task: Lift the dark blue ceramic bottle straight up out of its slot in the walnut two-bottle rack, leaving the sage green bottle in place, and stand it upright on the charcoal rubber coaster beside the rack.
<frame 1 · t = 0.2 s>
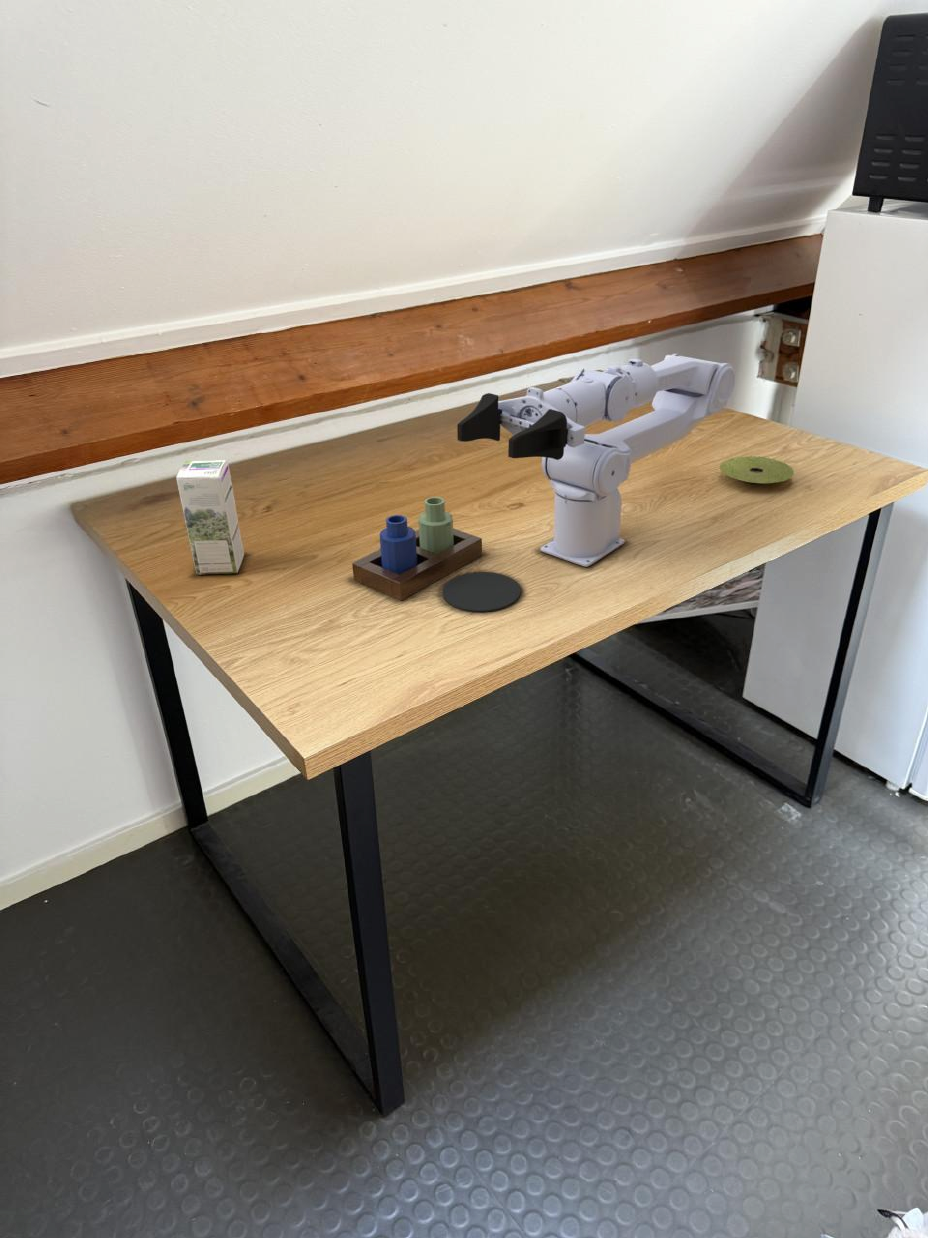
hand: (484, 440, 102), 22 cm above the table, tool horizontal, fingers open, 7 cm apart
bottle rack: (419, 567, 123), on the table
coaster: (481, 592, 116), on the table
mat: (754, 481, 145), on the table
syrup box: (221, 566, 125), on the table
blue bottle: (400, 577, 120), resting in bottle rack
sage bottle: (437, 557, 125), resting in bottle rack
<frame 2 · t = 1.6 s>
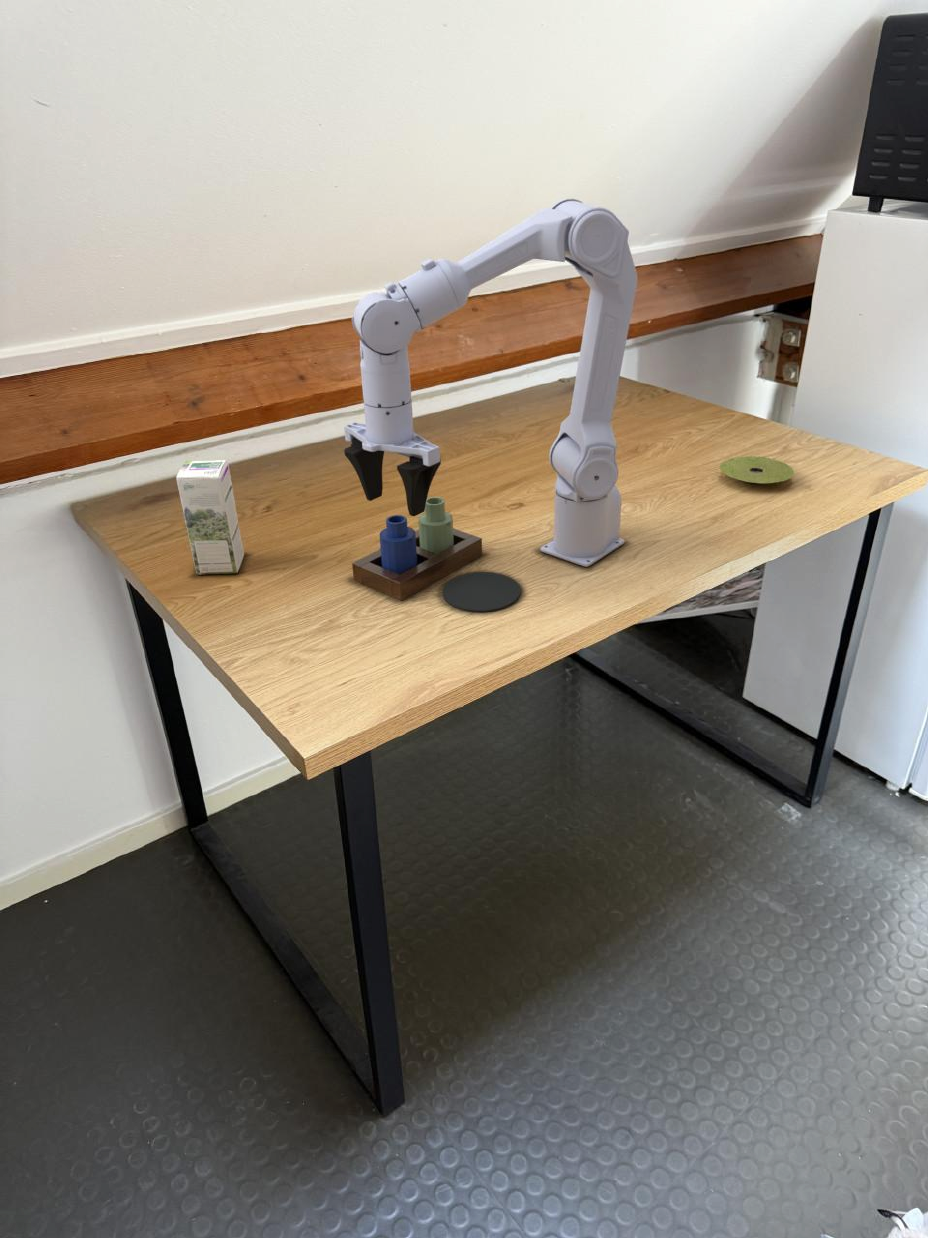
hand: (395, 505, 115), 10 cm above the table, tool pointing down, fingers open, 7 cm apart
nothing on the table moved.
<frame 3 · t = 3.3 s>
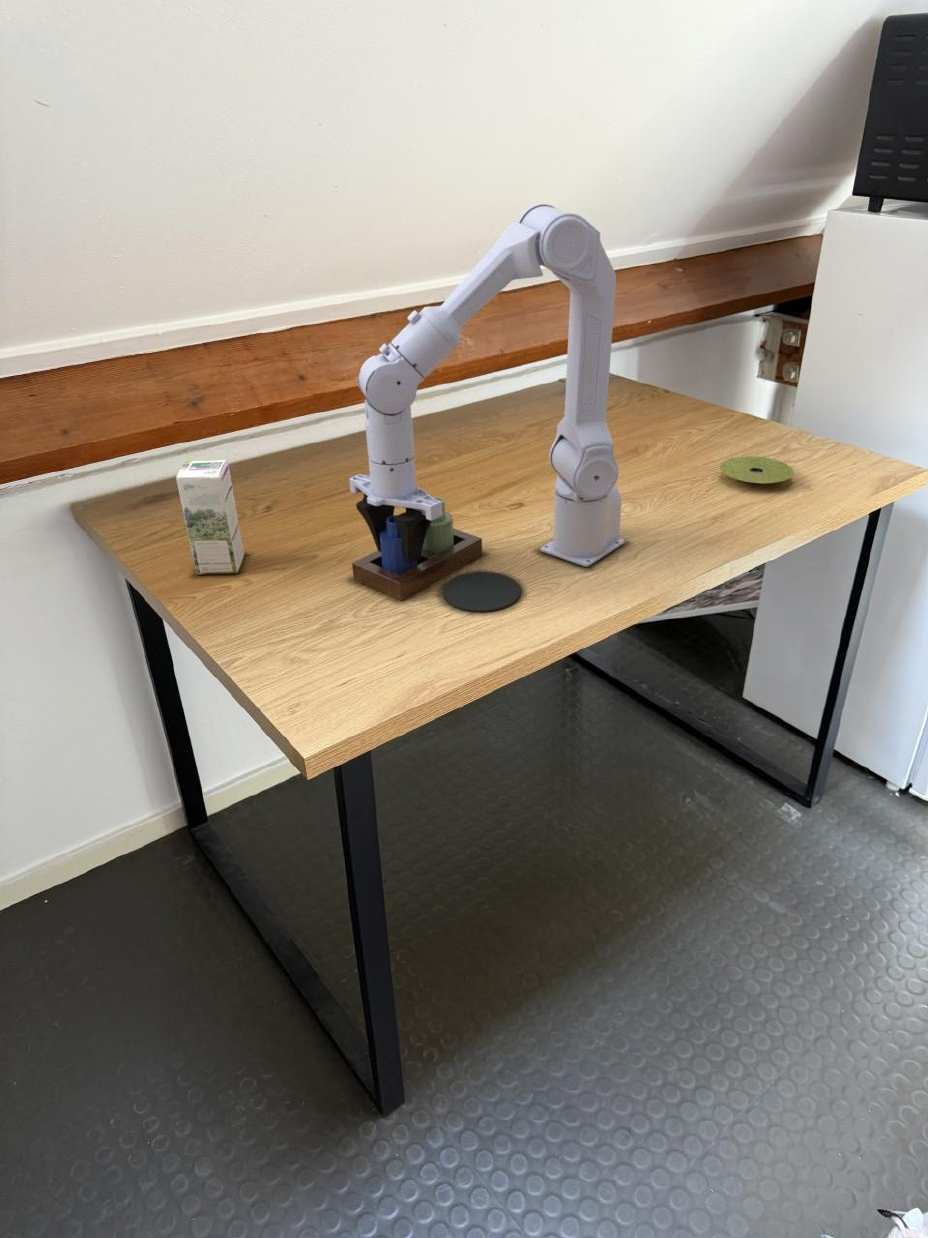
hand: (399, 554, 119), 3 cm above the table, tool pointing down, fingers closed on blue bottle, 4 cm apart
blue bottle: (400, 577, 120), resting in bottle rack, touching gripper
everything else where it was.
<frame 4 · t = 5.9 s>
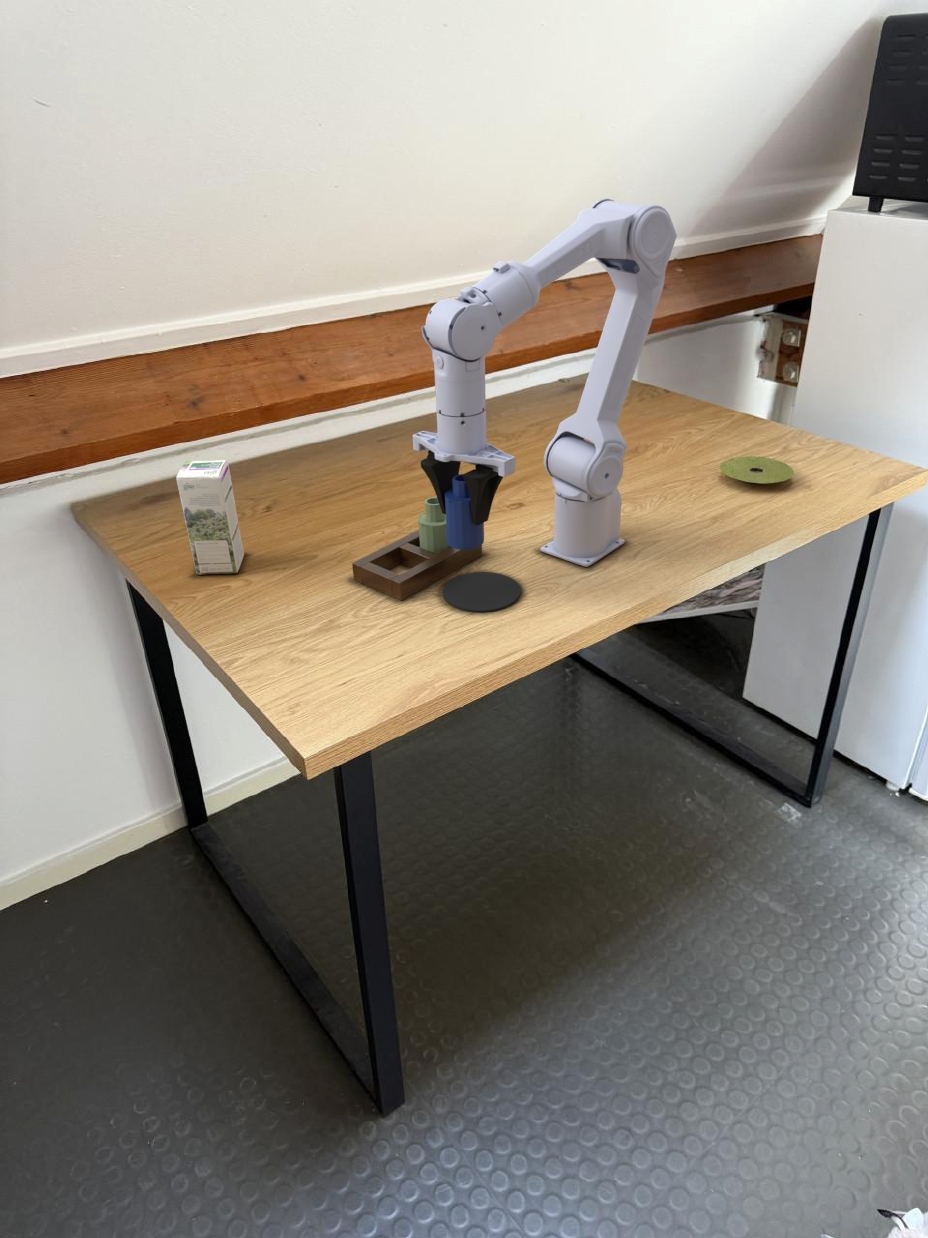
hand: (464, 516, 112), 10 cm above the table, tool pointing down, fingers closed on blue bottle, 4 cm apart
blue bottle: (465, 541, 113), point 7 cm above the table, touching gripper
everything else where it was.
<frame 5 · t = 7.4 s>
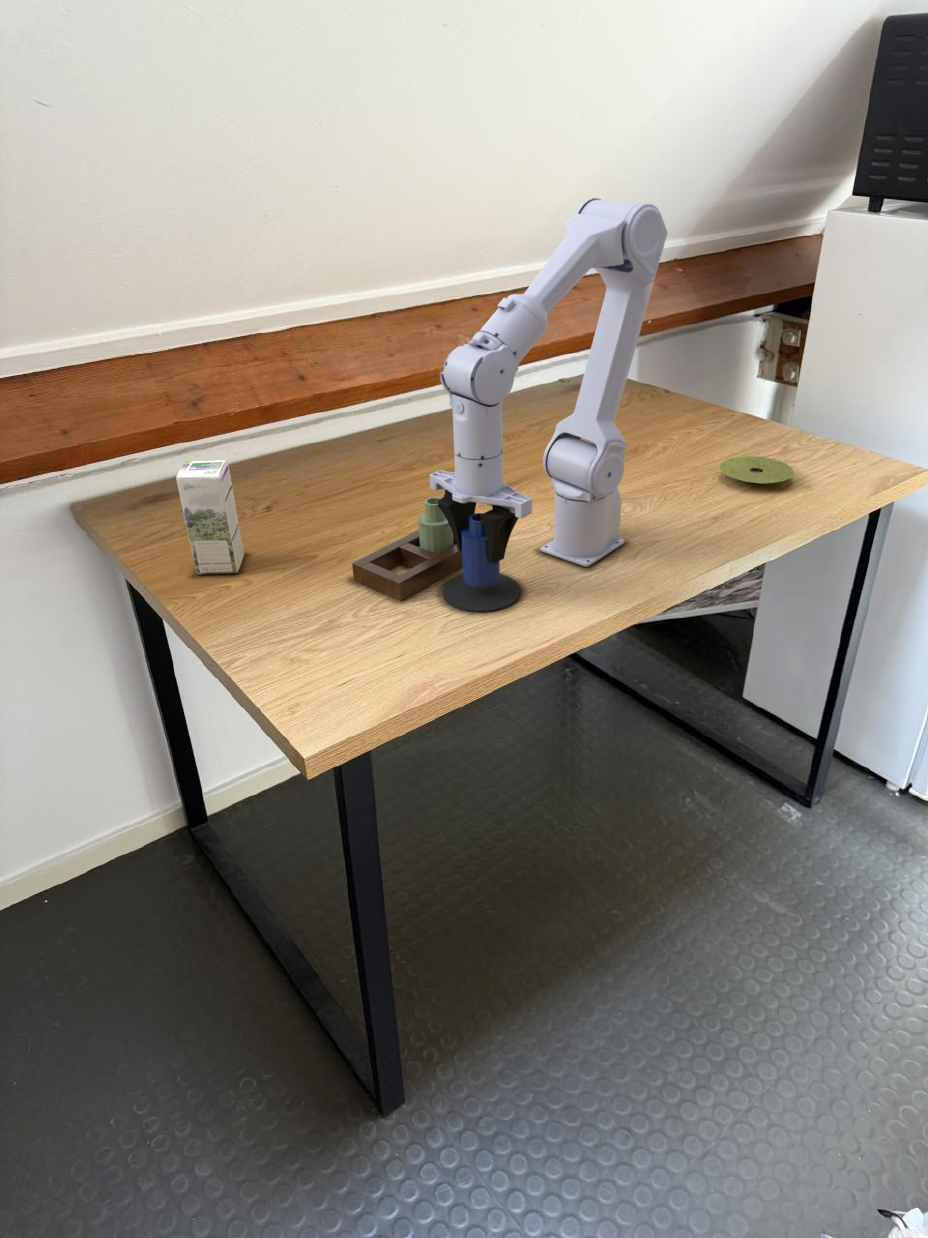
hand: (480, 554, 113), 5 cm above the table, tool pointing down, fingers closed on blue bottle, 4 cm apart
blue bottle: (481, 578, 115), point 2 cm above the table, touching gripper
everything else where it was.
when the fingers open (4 cm above the table, at t = 8.5 s): blue bottle stays where it is, resting on coaster.
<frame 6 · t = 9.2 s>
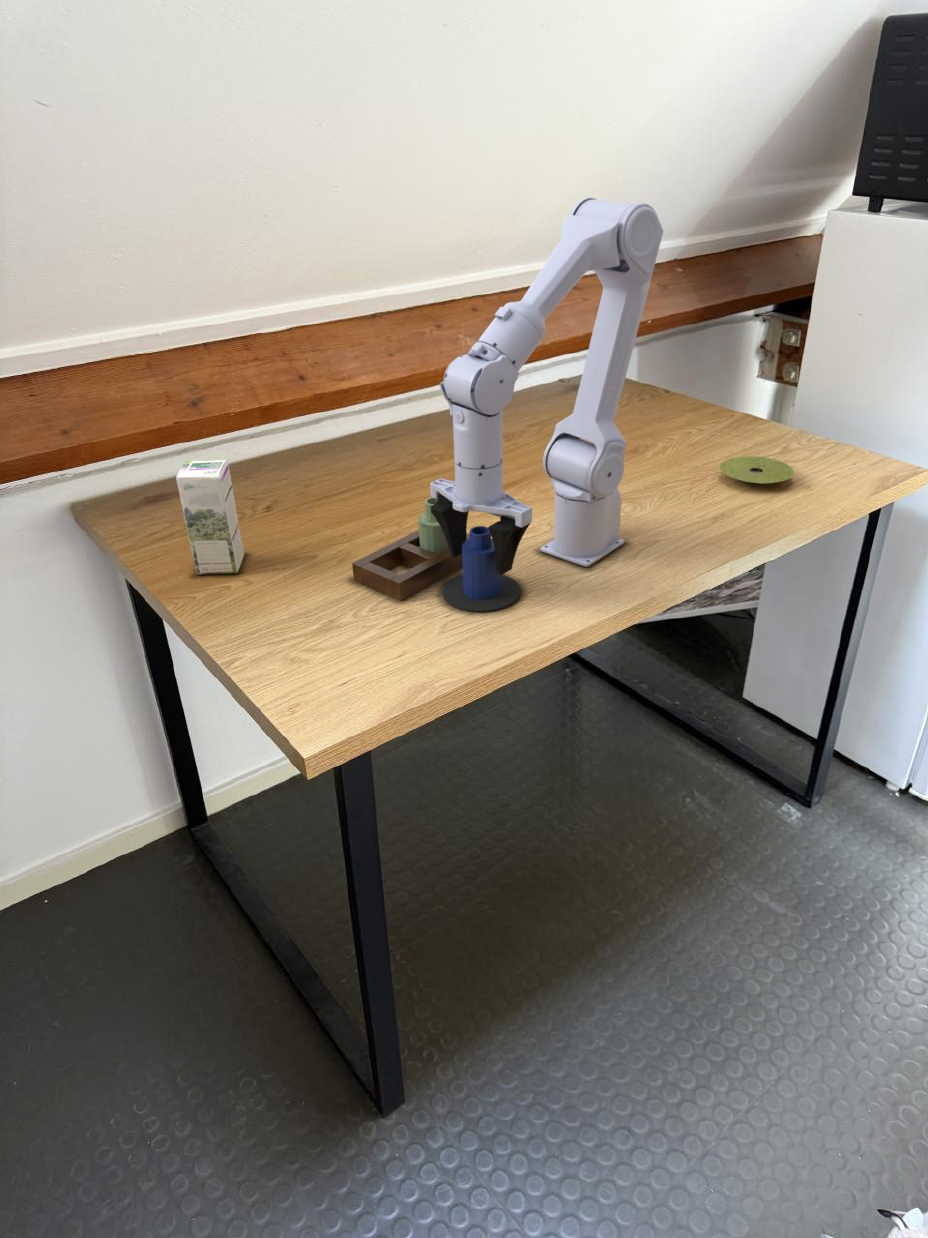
hand: (481, 562, 114), 4 cm above the table, tool pointing down, fingers open, 7 cm apart
blue bottle: (481, 590, 116), resting on coaster
everything else where it was.
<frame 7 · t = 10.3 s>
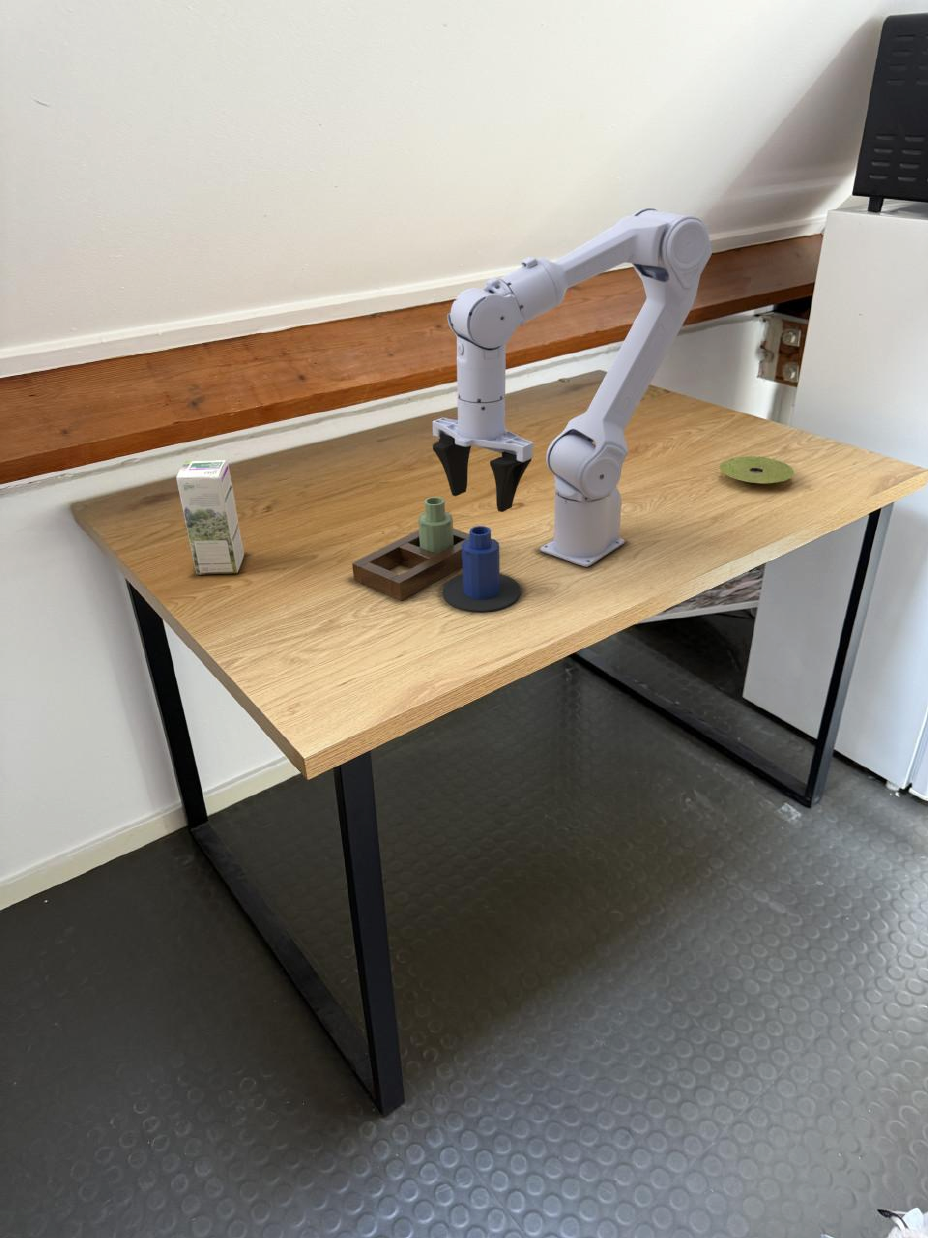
hand: (481, 501, 115), 10 cm above the table, tool pointing down, fingers open, 7 cm apart
nothing on the table moved.
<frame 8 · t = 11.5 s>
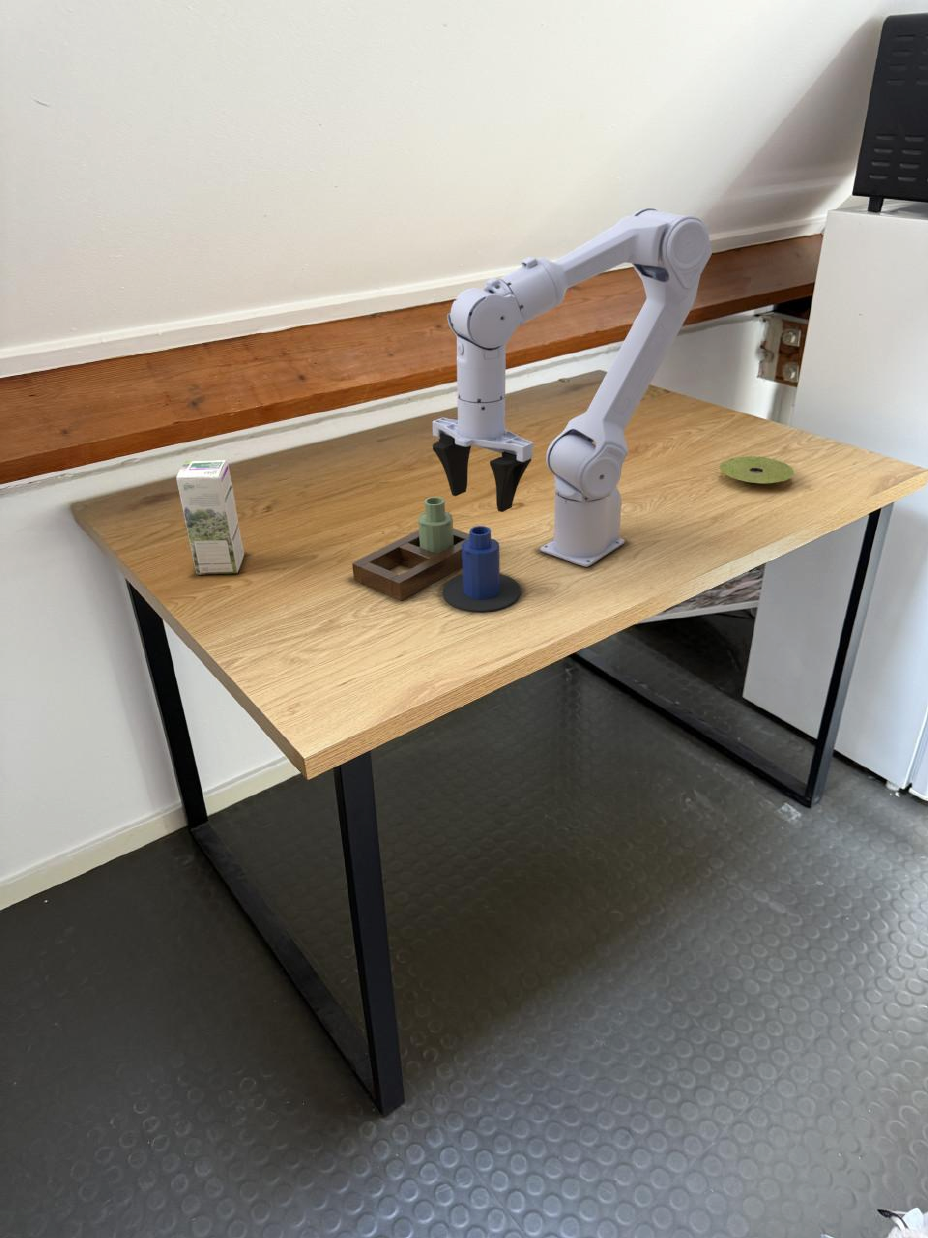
hand: (481, 501, 115), 10 cm above the table, tool pointing down, fingers open, 7 cm apart
nothing on the table moved.
at the end: blue bottle 0.0 cm off-centre on the coaster, point 0.3 cm above the coaster's base; blue bottle tilted 0°; blue bottle touching coaster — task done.
